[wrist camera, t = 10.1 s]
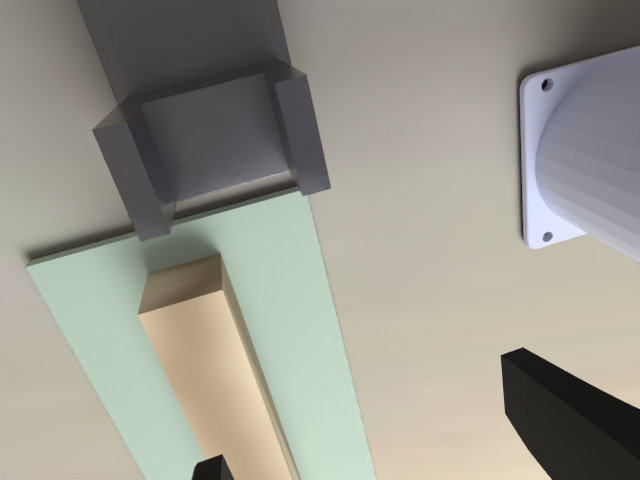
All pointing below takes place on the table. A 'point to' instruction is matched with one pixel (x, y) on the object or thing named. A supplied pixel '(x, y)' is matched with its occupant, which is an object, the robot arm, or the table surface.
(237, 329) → the beech rail
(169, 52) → the grey u-shaped holder
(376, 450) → the table surface
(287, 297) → the green mat
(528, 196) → the robot arm
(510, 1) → the table surface
